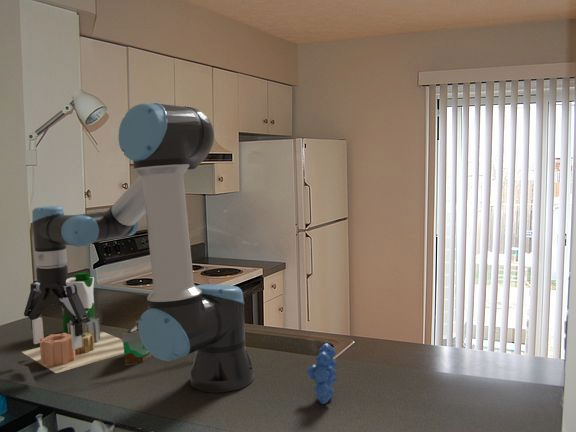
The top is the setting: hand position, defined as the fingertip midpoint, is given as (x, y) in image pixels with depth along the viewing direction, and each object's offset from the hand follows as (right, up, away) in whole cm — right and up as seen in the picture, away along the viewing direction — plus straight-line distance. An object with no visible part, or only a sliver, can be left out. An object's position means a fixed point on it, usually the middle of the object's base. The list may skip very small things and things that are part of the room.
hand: (57, 345), depth 146 cm
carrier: (+3, -5, +8) cm, 10 cm away
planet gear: (0, -4, 0) cm, 4 cm away
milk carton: (-3, -3, +25) cm, 25 cm away
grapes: (+68, -6, -25) cm, 73 cm away
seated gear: (+1, -2, +16) cm, 16 cm away
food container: (+22, -5, 0) cm, 23 cm away
